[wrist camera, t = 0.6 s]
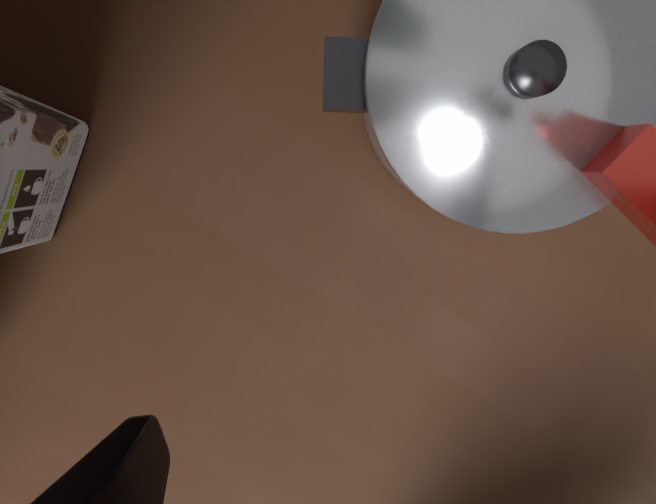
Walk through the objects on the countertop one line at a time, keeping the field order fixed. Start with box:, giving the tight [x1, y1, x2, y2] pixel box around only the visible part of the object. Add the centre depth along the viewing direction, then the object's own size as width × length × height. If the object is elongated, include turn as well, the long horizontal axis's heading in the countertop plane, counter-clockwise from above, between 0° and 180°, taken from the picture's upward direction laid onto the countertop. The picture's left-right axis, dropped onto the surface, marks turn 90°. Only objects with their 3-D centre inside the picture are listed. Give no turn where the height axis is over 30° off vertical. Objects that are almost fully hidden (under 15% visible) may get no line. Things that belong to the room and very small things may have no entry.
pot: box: [323, 37, 410, 192], centre depth 20 cm, size 16×11×4 cm
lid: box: [364, 0, 656, 246], centre depth 14 cm, size 15×12×8 cm
